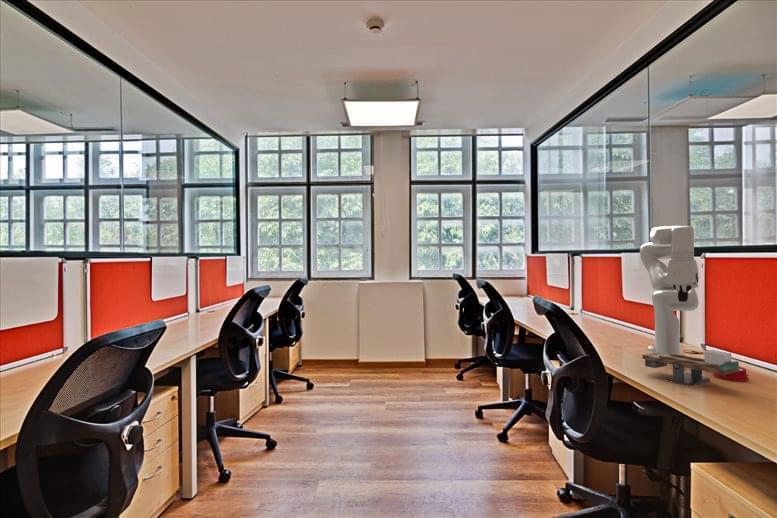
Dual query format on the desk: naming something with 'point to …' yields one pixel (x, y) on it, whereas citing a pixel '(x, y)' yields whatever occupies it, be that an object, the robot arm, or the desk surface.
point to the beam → (688, 363)
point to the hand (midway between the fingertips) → (682, 301)
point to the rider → (717, 357)
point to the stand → (686, 376)
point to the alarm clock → (735, 375)
